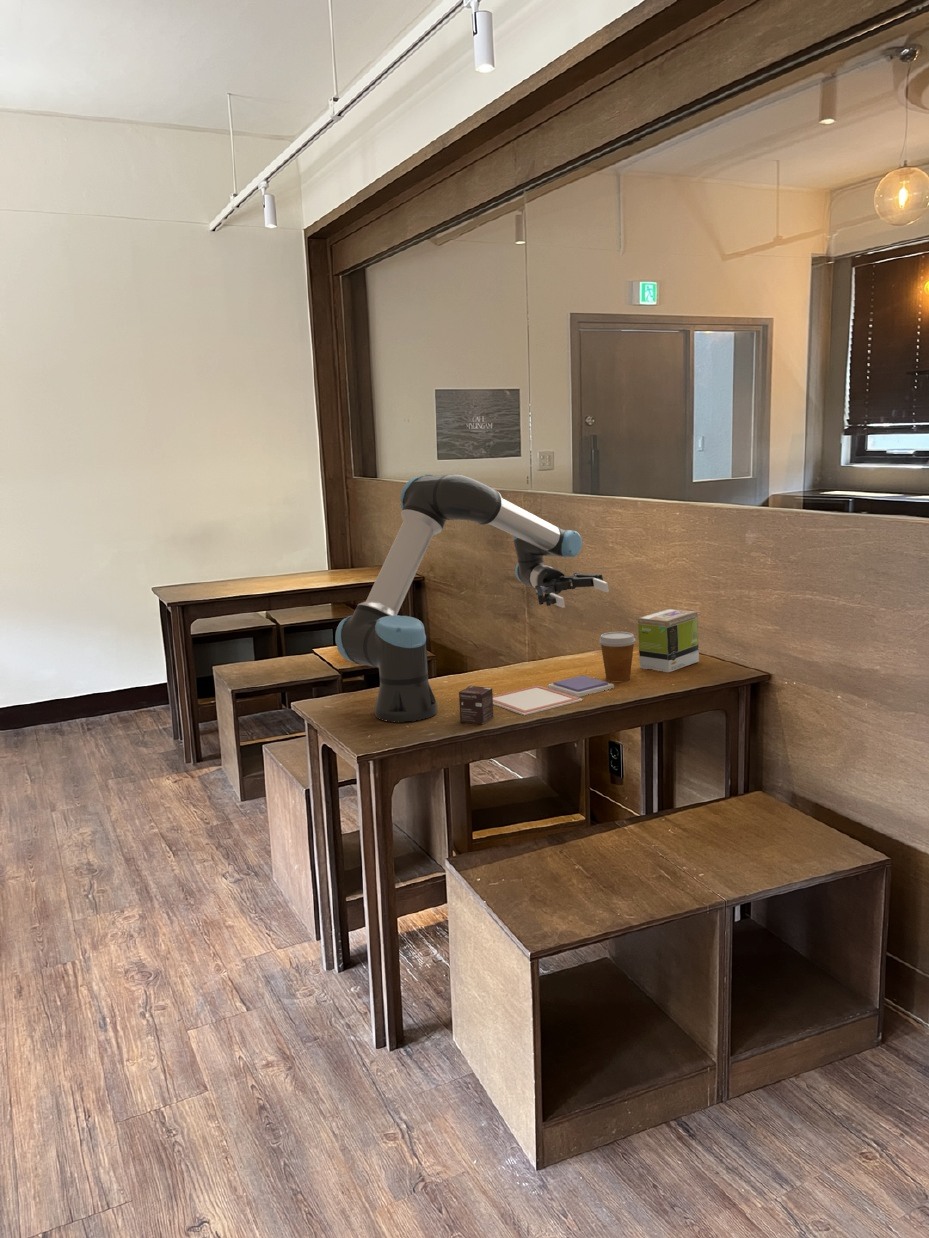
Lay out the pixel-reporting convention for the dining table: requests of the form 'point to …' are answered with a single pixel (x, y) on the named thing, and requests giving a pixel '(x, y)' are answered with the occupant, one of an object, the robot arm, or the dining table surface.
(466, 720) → the box
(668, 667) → the tea box
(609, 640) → the disposable coffee cup
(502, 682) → the dining table surface
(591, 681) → the ink pad
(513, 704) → the marked board
